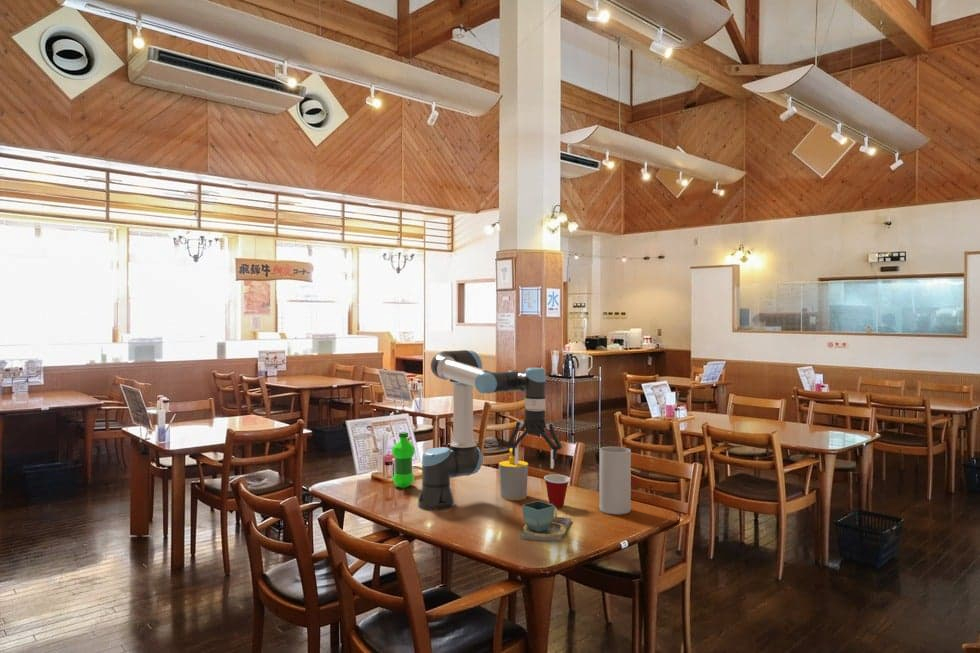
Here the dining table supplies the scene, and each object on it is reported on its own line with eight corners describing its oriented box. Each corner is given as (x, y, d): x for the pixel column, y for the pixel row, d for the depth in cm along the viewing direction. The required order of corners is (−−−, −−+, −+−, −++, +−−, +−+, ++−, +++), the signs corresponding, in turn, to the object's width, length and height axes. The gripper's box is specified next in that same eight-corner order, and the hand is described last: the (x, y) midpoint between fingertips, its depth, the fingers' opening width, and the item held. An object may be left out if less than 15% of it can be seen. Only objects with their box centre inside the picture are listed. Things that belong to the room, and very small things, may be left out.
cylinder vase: (596, 506, 268) (596, 446, 268) (625, 505, 269) (625, 446, 269) (604, 515, 256) (604, 452, 256) (634, 514, 257) (634, 452, 257)
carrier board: (519, 538, 229) (519, 516, 229) (534, 518, 253) (534, 498, 253) (561, 542, 225) (561, 520, 224) (572, 521, 249) (572, 501, 248)
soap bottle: (494, 499, 280) (494, 450, 280) (503, 491, 292) (503, 445, 292) (523, 501, 276) (523, 452, 276) (531, 494, 288) (531, 446, 288)
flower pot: (555, 530, 234) (555, 505, 234) (538, 535, 229) (538, 510, 229) (538, 524, 241) (538, 500, 241) (521, 529, 235) (521, 504, 235)
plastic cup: (556, 511, 262) (556, 481, 262) (538, 505, 270) (538, 476, 270) (575, 506, 268) (575, 478, 268) (557, 500, 277) (557, 473, 277)
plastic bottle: (397, 490, 295) (397, 435, 295) (389, 485, 304) (389, 432, 304) (417, 487, 300) (417, 433, 300) (409, 482, 309) (409, 430, 309)
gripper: (500, 408, 239) (499, 465, 240) (566, 412, 232) (565, 471, 233) (505, 406, 246) (504, 461, 247) (570, 409, 239) (569, 466, 240)
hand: (534, 466), depth 240 cm, fingers open, 13 cm apart
